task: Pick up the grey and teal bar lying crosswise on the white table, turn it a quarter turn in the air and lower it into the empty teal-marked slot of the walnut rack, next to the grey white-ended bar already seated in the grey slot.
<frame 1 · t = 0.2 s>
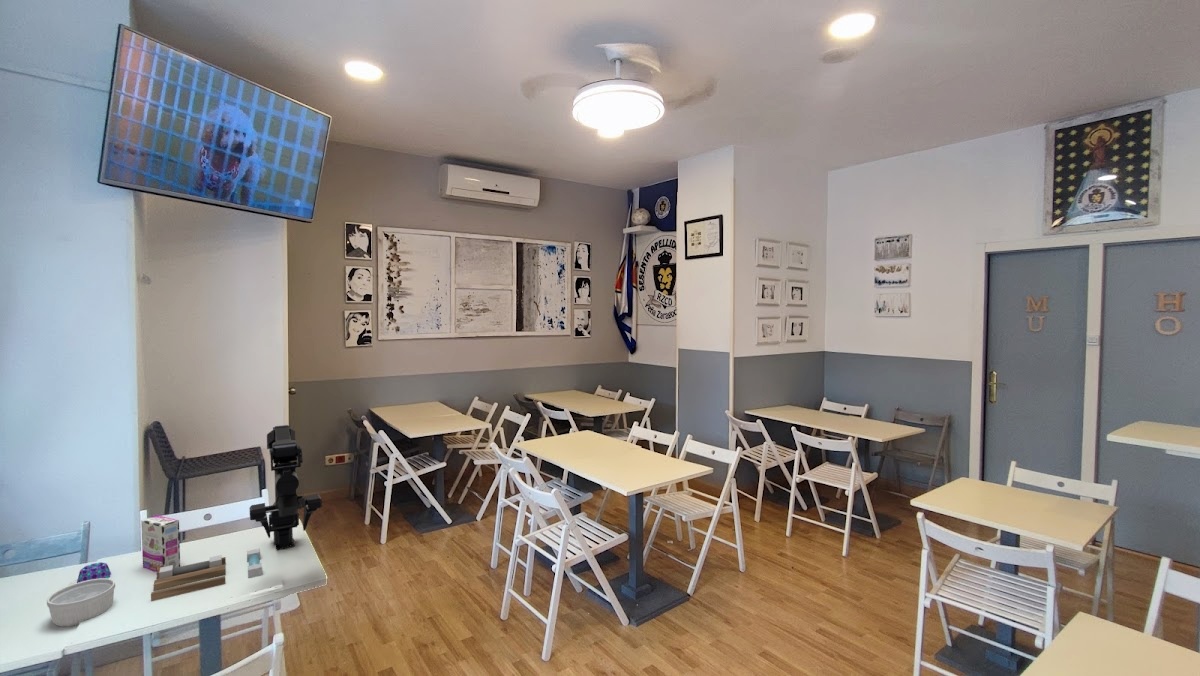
hand: (287, 533, 164), 14 cm above the table, fingers open, 9 cm apart
candy bar box: (162, 571, 169), on the table
purple spotted rounded lump: (94, 583, 161), on the table
grey white-ended bar: (191, 574, 164), point 1 cm above the table, touching walnut rack
ramekin: (83, 616, 145), on the table
walnut rack: (191, 584, 161), on the table
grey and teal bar: (254, 569, 170), on the table
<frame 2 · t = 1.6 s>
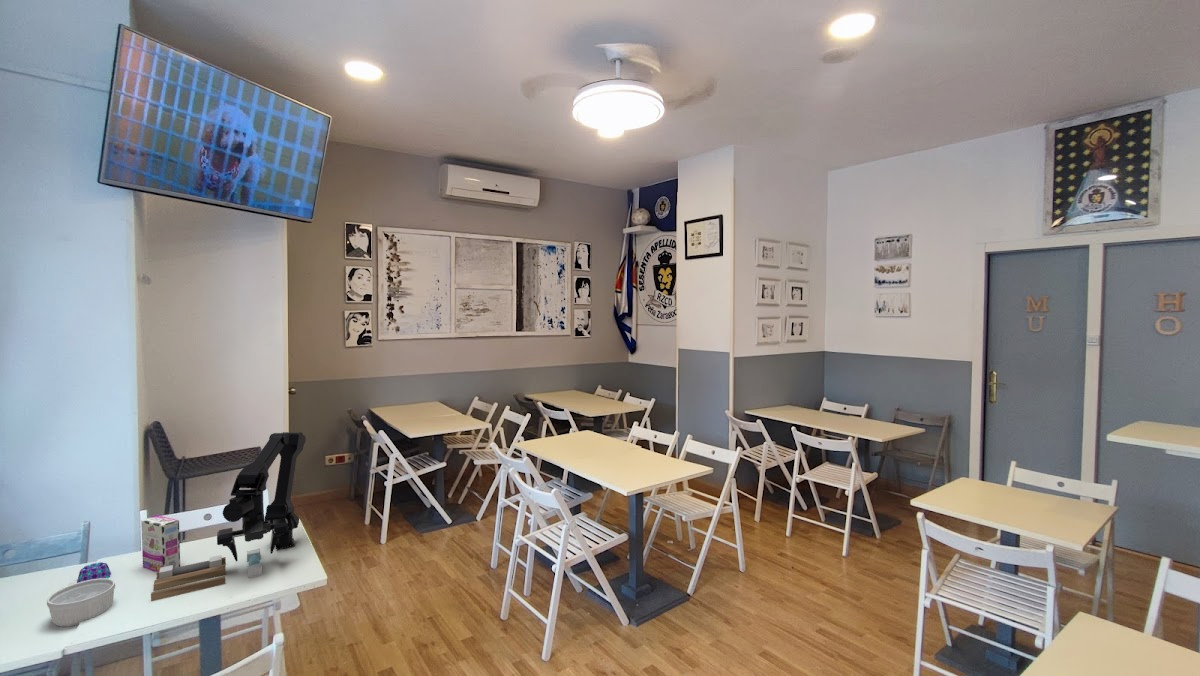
hand: (254, 557, 170), 4 cm above the table, fingers open, 9 cm apart
nothing on the table moved.
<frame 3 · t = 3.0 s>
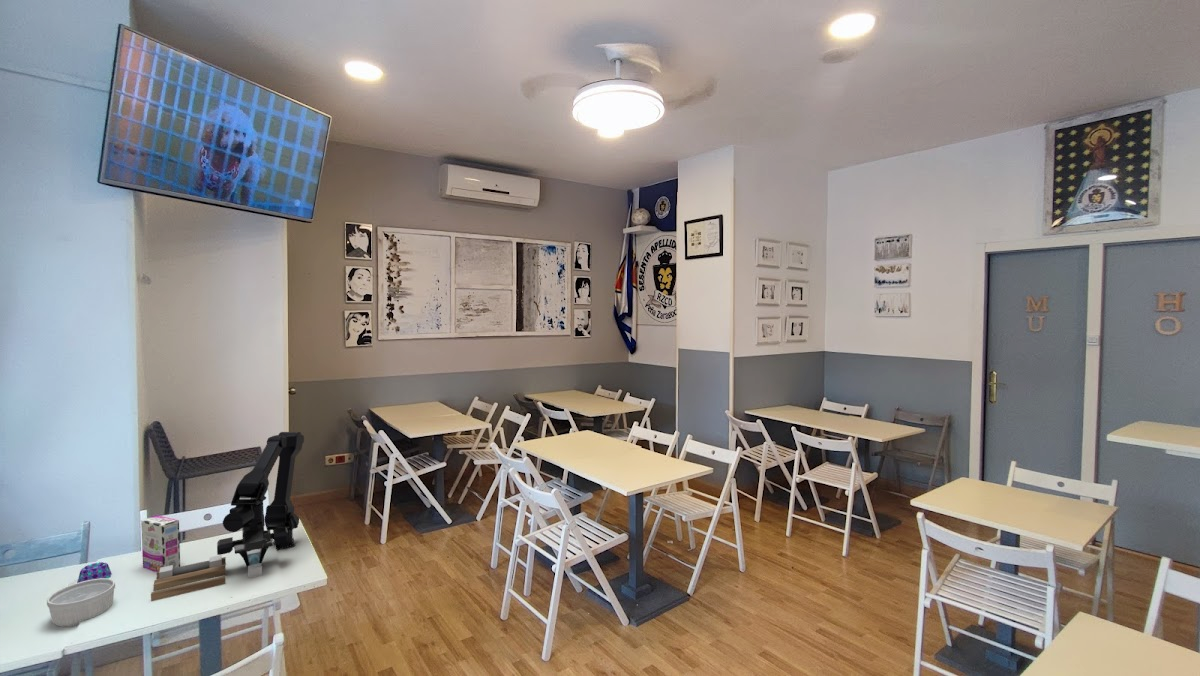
hand: (254, 566, 170), 1 cm above the table, fingers closed on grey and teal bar, 3 cm apart
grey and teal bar: (254, 569, 170), on the table, touching gripper
everything else where it was.
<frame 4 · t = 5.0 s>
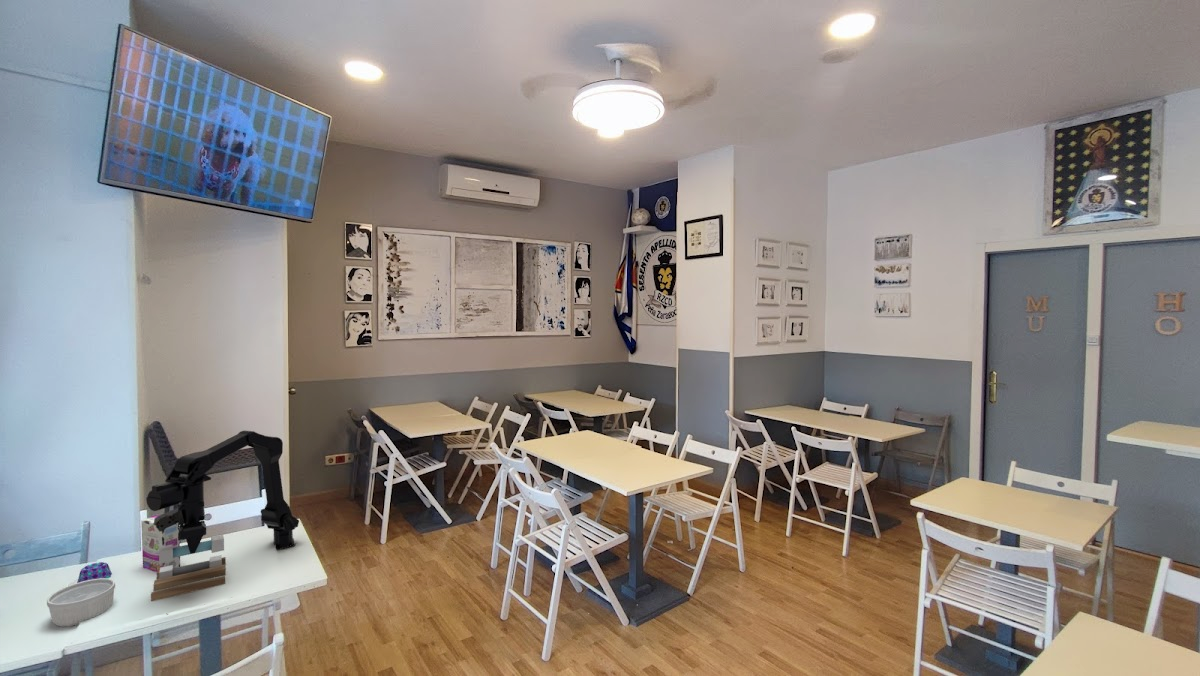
hand: (192, 551, 157), 11 cm above the table, fingers closed on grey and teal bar, 3 cm apart
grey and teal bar: (192, 554, 157), point 10 cm above the table, touching gripper
everything else where it was.
when the fingers open (4 cm above the table, at t = 7.0 s): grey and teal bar drops 2 cm, resting on walnut rack.
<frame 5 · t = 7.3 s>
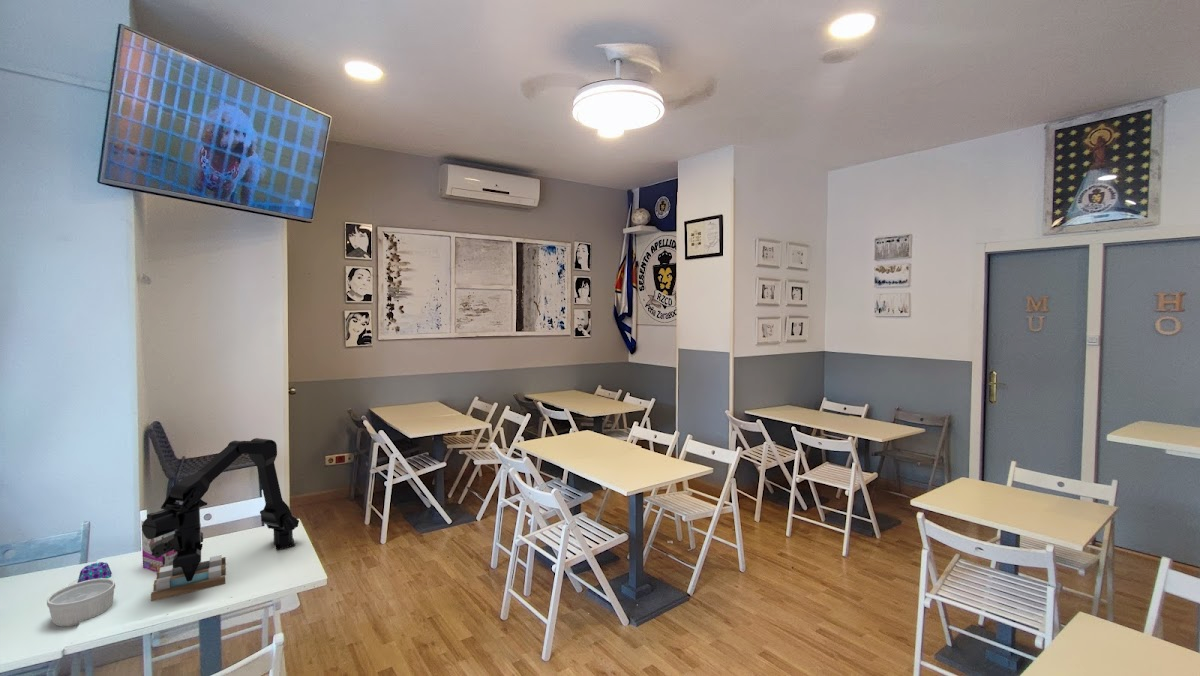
hand: (189, 576, 157), 4 cm above the table, fingers open, 5 cm apart
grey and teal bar: (190, 586, 157), point 1 cm above the table, touching walnut rack
everything else where it was.
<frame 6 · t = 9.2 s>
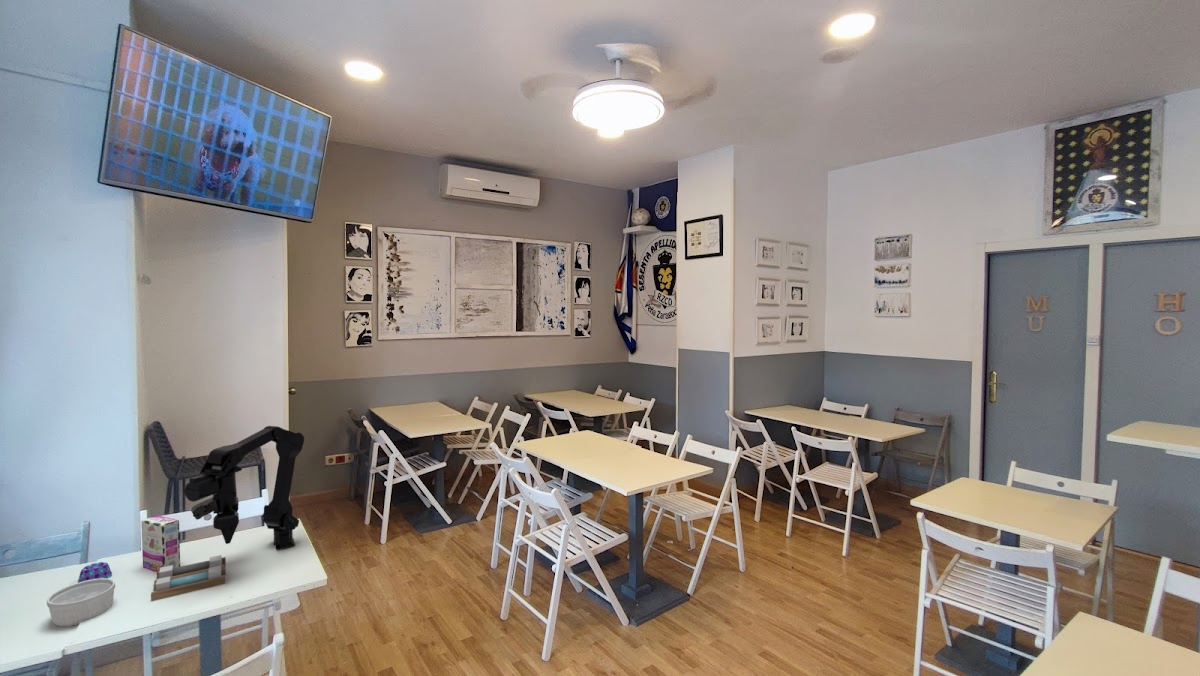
hand: (228, 537, 167), 11 cm above the table, fingers open, 9 cm apart
nothing on the table moved.
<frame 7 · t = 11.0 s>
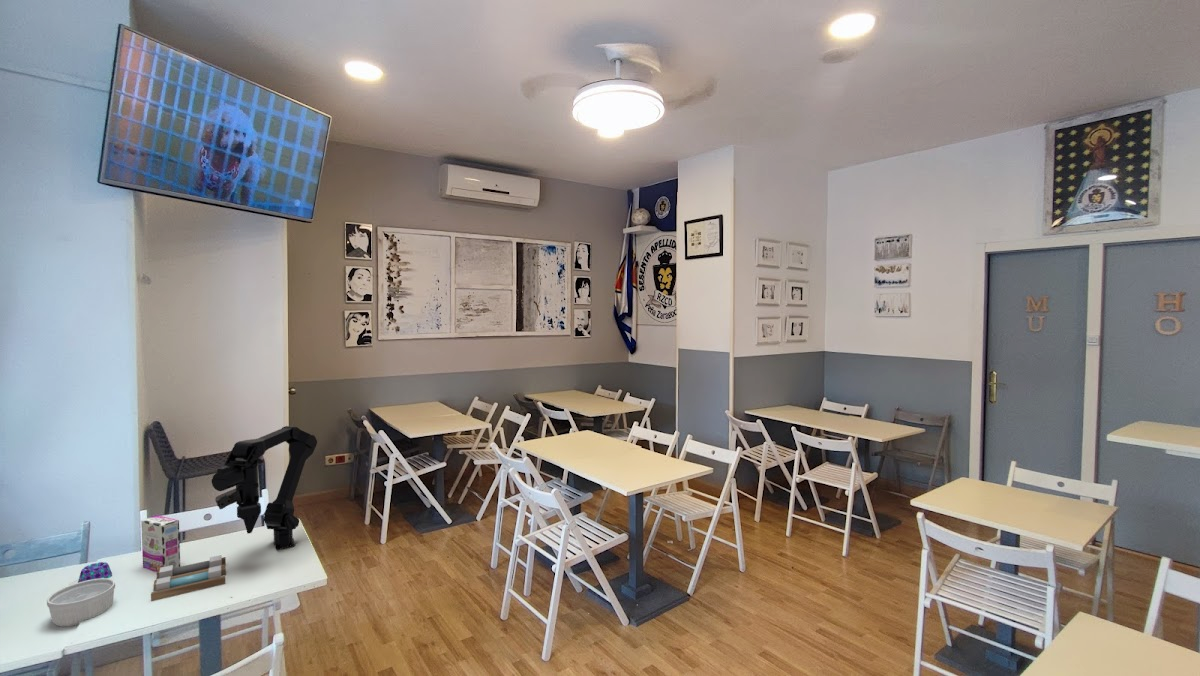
hand: (249, 528, 173), 12 cm above the table, fingers open, 9 cm apart
nothing on the table moved.
at the end: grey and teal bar 0.0 cm from the target spot on the walnut rack, point 1.1 cm above the walnut rack's base; the gripper is holding nothing; grey white-ended bar moved 0.1 cm from its start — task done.
